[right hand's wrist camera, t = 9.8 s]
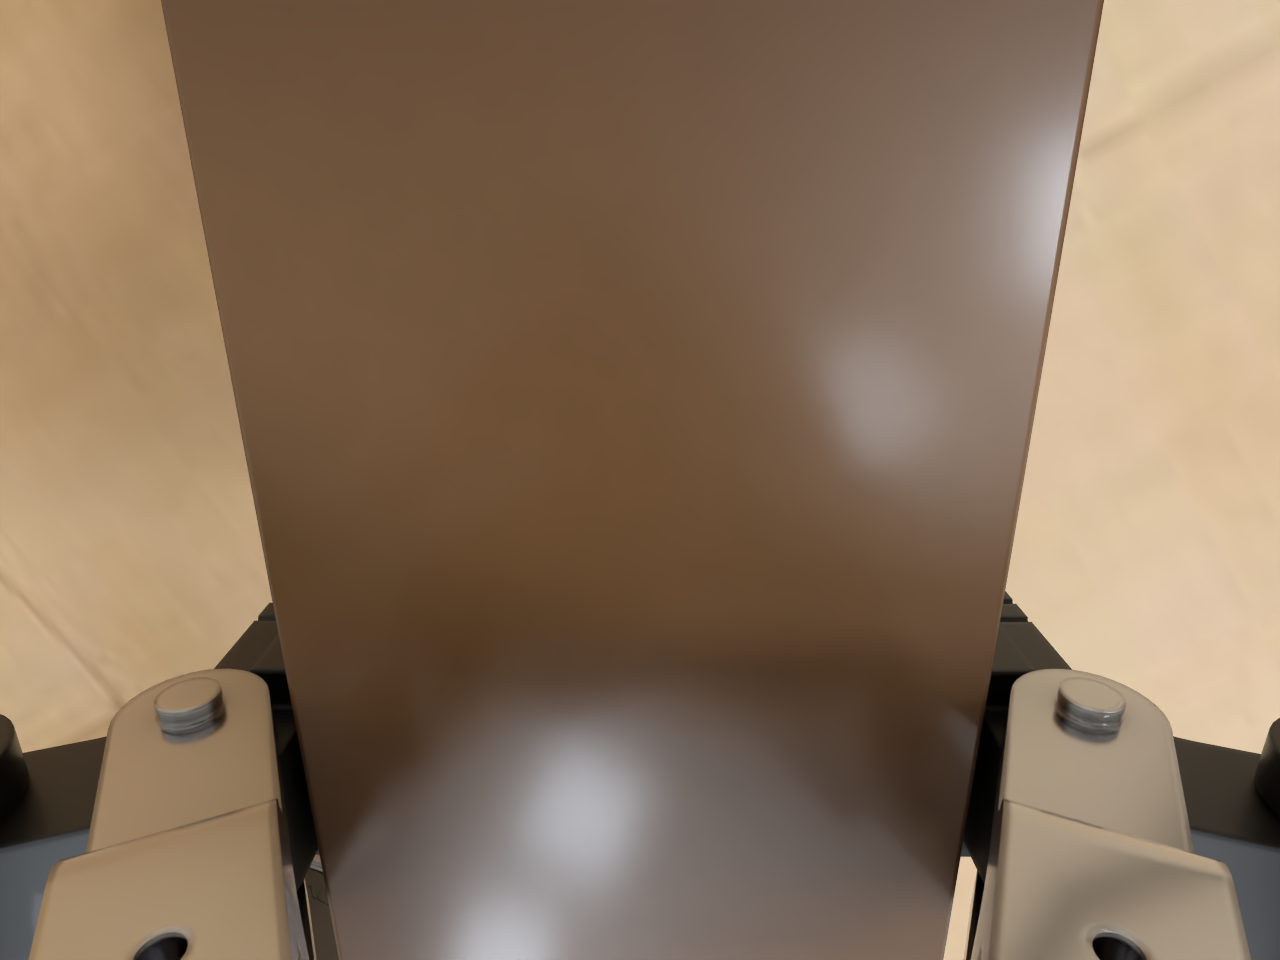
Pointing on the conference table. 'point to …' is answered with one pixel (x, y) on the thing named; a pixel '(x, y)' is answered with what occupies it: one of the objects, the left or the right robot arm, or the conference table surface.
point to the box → (636, 444)
